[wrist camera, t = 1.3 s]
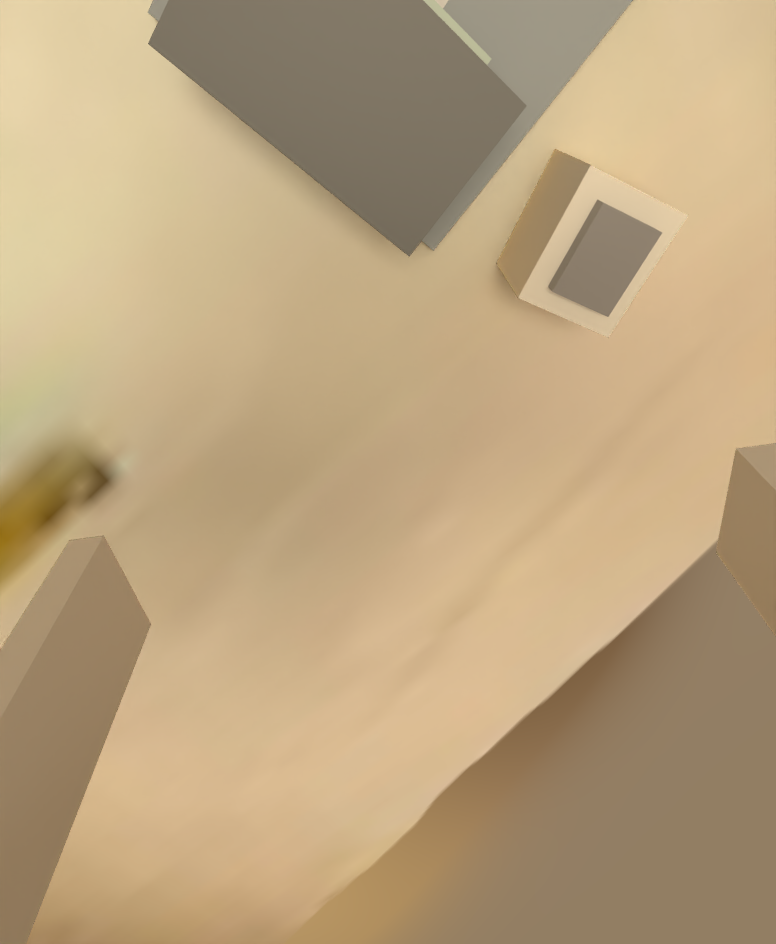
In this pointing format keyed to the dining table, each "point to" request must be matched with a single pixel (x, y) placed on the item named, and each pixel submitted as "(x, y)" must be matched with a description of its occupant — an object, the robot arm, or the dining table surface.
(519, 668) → the dining table surface
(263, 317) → the dining table surface
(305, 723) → the dining table surface
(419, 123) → the rail board
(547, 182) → the block
